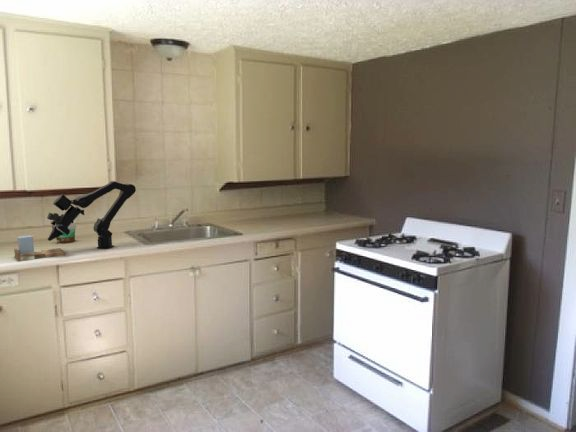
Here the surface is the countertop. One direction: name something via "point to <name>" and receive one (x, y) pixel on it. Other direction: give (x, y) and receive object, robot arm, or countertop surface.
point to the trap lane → (39, 254)
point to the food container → (67, 236)
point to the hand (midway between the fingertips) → (48, 240)
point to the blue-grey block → (25, 244)
